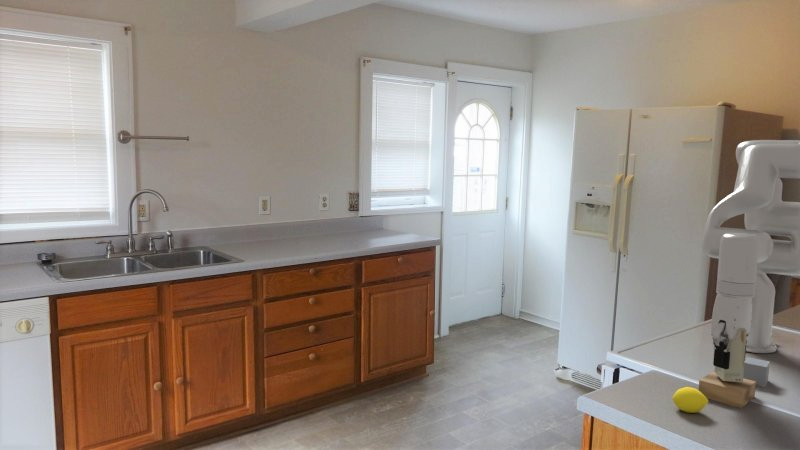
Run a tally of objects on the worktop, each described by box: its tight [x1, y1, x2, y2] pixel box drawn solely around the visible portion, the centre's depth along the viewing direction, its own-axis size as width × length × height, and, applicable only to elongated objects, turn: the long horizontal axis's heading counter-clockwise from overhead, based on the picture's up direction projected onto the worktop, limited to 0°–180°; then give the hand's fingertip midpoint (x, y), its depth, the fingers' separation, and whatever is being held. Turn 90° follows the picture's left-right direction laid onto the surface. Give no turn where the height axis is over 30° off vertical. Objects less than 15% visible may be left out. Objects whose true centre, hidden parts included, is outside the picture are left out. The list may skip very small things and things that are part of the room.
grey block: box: [743, 356, 771, 388], centre depth 143 cm, size 5×5×5 cm
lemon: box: [672, 386, 709, 414], centre depth 126 cm, size 7×5×5 cm
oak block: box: [698, 370, 757, 409], centre depth 134 cm, size 9×9×4 cm
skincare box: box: [713, 329, 747, 382], centre depth 133 cm, size 6×4×12 cm
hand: (729, 363), depth 134 cm, fingers closed on skincare box, 7 cm apart
